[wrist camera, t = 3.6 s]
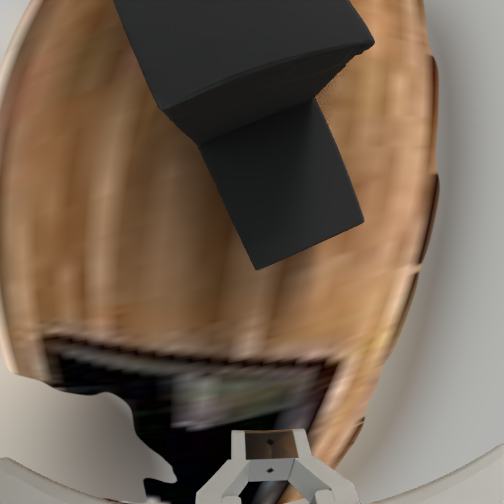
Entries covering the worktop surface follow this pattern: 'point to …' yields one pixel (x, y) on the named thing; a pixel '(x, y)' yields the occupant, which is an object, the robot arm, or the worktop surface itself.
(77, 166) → the worktop surface
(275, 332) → the worktop surface
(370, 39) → the black stepped block
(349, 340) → the worktop surface
